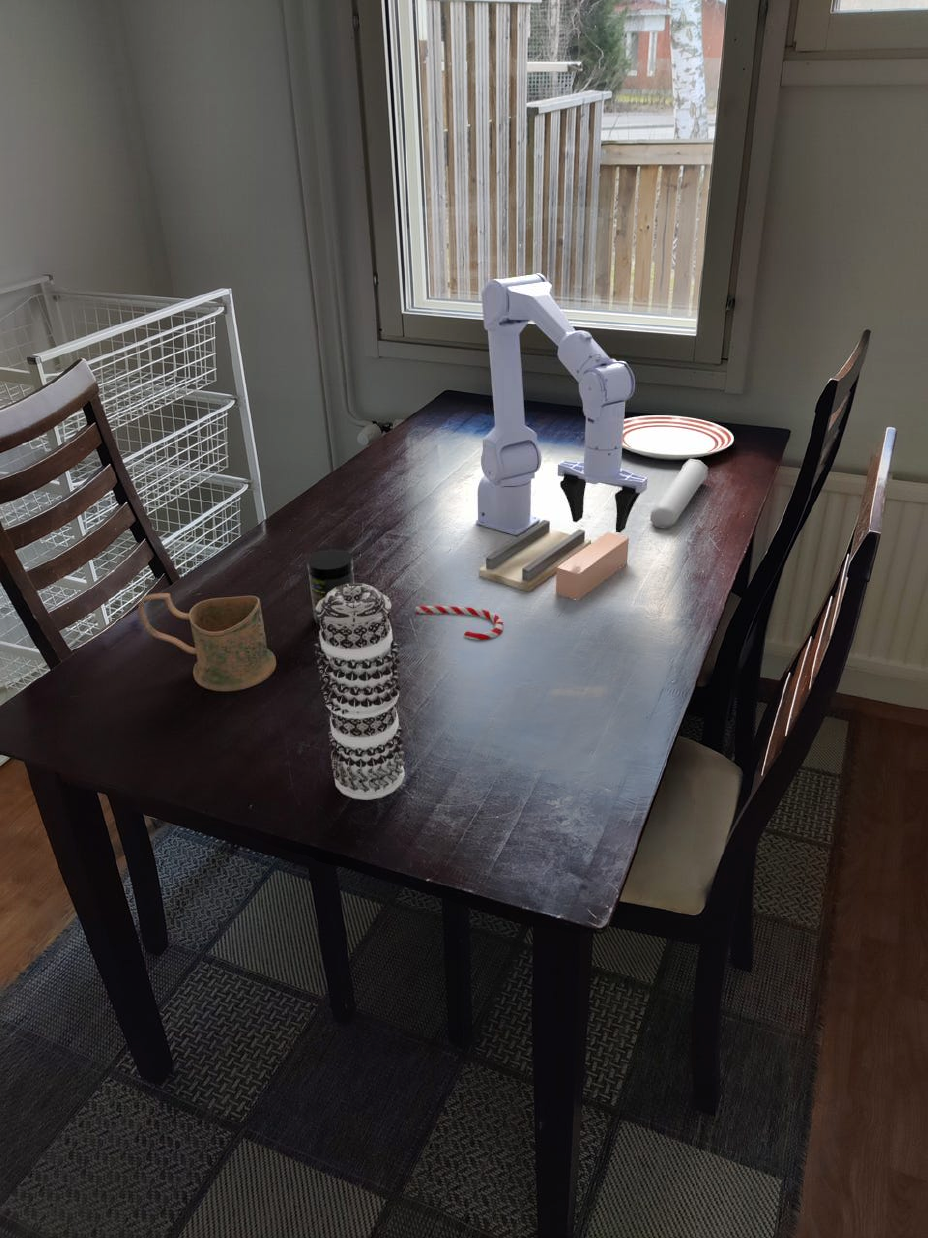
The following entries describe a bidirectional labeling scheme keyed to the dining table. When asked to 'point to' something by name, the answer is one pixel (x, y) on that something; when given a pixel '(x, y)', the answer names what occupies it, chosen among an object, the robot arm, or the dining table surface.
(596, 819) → the dining table surface
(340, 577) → the supplement container
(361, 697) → the decorative candle
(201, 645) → the mug
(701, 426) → the dinner plate
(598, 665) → the dining table surface
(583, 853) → the dining table surface
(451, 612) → the candy cane
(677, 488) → the tube
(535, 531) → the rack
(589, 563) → the clay block
